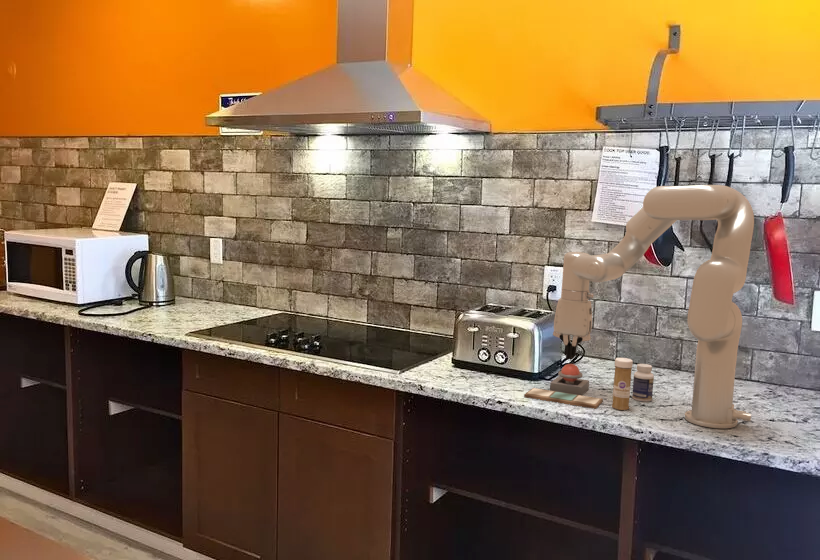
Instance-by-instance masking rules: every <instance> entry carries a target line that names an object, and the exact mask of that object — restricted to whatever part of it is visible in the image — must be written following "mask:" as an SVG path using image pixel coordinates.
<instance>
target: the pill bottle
mask: <svg viewBox="0 0 820 560" xmlns="http://www.w3.org/2000/svg"><path fill="white" fill-rule="evenodd" d="M652 370H653V365H651V364H648V363H637V365H636V371H635V372H634V374H633V382H632V395H631V397H632V399H633V400H635V401H639V402H646V403H647V402H651V401H653V393H654V392H653V391H654V380H655V377H654V376H655V375H654V374H653V373H652Z"/></svg>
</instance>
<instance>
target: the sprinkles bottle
mask: <svg viewBox="0 0 820 560" xmlns="http://www.w3.org/2000/svg"><path fill="white" fill-rule="evenodd" d="M633 362H634V361H633V359H631V358H627V357H616V358H615V359H614V368H615V369H614V375H613V376H614V377H613V389H612V391H613V392H612V404H611V408H613V409H615V410H619V411H627V410H629V409H630V396H631V384H632V369H633V365H634V363H633Z"/></svg>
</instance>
